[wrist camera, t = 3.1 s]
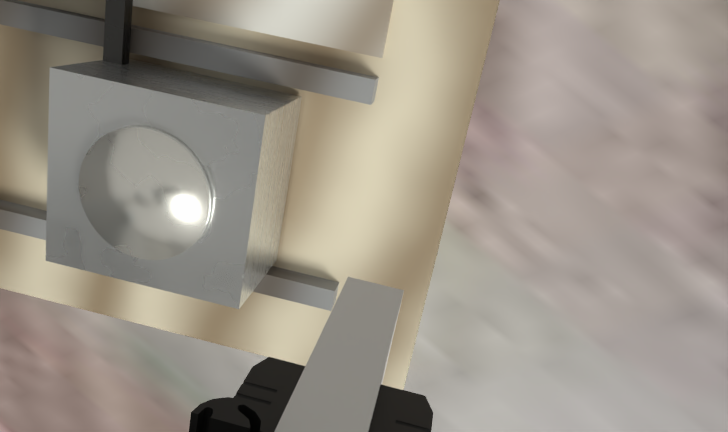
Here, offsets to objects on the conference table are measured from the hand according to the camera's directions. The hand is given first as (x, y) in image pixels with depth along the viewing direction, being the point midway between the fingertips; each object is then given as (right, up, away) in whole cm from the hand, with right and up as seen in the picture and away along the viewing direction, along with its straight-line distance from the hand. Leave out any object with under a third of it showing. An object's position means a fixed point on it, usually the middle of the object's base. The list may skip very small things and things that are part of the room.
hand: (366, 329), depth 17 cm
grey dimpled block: (-7, +8, +10) cm, 15 cm away
